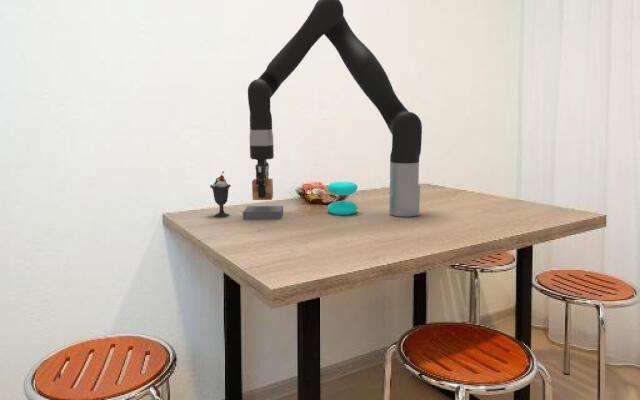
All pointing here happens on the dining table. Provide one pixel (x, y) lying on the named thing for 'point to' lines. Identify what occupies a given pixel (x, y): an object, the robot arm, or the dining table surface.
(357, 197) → the dining table surface
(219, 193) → the sundae
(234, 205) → the dining table surface
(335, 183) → the donuts
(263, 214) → the base
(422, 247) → the dining table surface
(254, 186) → the cube
